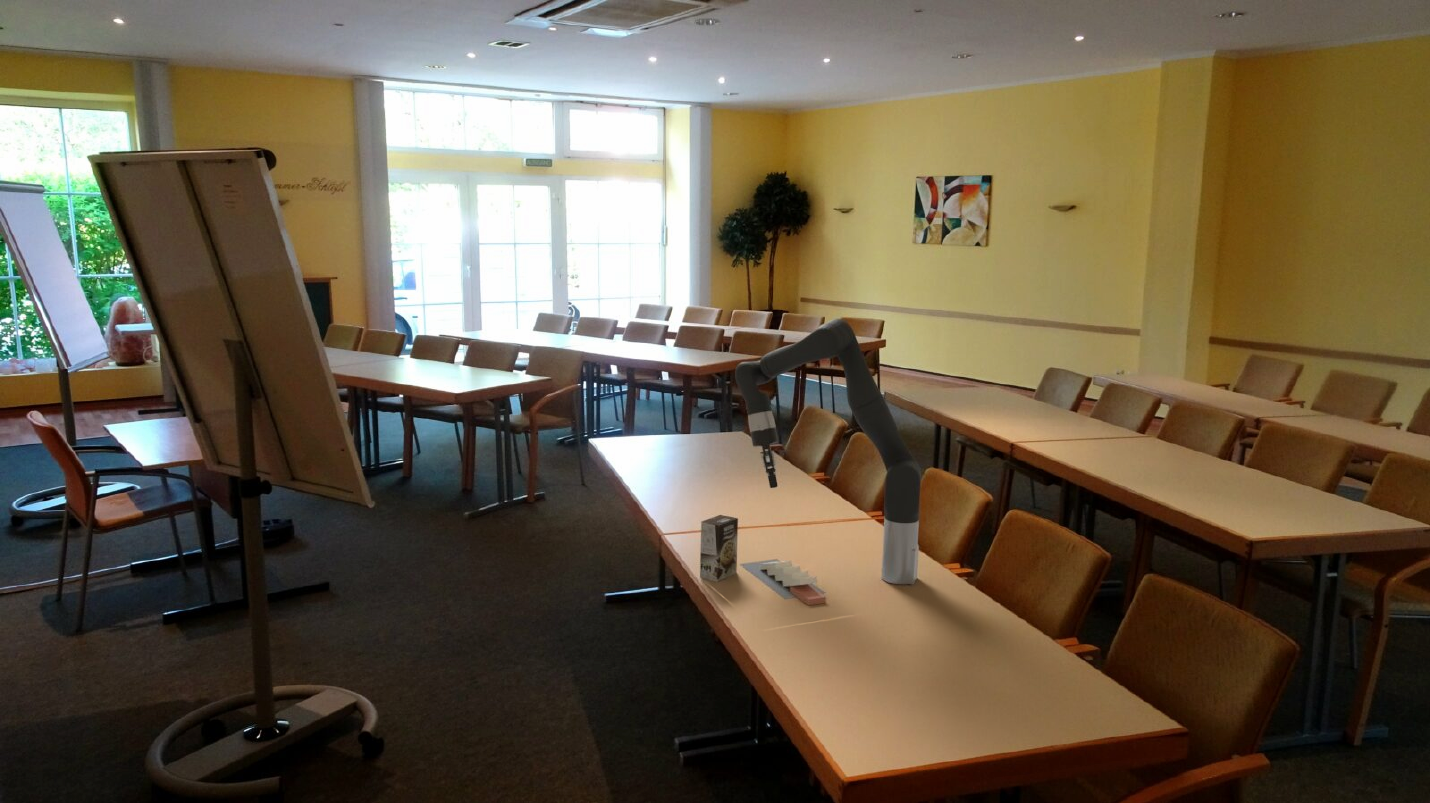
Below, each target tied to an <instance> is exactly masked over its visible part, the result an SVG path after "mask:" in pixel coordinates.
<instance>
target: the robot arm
mask: <svg viewBox="0 0 1430 803" xmlns="http://www.w3.org/2000/svg"><path fill="white" fill-rule="evenodd" d="M836 357H837V359H838V360H839V362H840V364H841V367H842V370H843V372H844V376H845V384H846V386H845V387H846V399H847V404H848V406H849V408H850V411H851V412H852V415H853V416H854V418H855V421H856V423H857V424H858V425H859V427H860V428H861V430H862V432H863V433H864V434H865V435H866V437H867V438H868V439H869V441H870V442H871V443H872V444H873V445H874V448H876V449H877V451H878V453H879V455H880V459H881V461H882V463H883V465H884V467H885V470H886V474H885V481H884V503H883V504H884V505H883V507H884V508H883V509H884V516H883V517H884V520H883V521H884V523H883V541H882V542H883V543H882V557H881V559H882V560H881V579H882V580H883V581H885V582H886V583H890V584H893V585H914V584H915V582H916V580H917V579H918V570H919V569H918V567H919V550H920V544H918V542H919V524H920V501H921V498H920V497H921V484H922V478H923V477H922V476H923V474H922V469H921V467H920V466H919V464H918V462H917V461H916V459H915V458H914V456H913V455H912V453H911V452H910V450H909V448H908V446H907V445H906V444H905V442H904V440H903V438H902V436H901V434H900V432H899V429H898V426H897V424H896V421H895V419H894V416H893V414H892V412H891V410H890V408H889V406H888V403H887V402H886V400H885V398H884V395H883V394H882V392H881V391H880V389H879V387H878V385H877V383H876V381H875V379H874V377H873V374H872V372H871V370H870V369H869V367H868V364H867V361H866V360H865V358H864V355H863V352H862V349H861V346H860V344H859V341H858V338H857V337H856V334H855V332H854V330H853V328H852V327H851V325H850V324H849V323H848V322H847V321H846V320H844V319H842V318H834V319H831V320H829V321H827V322H825V323H823V324H821V325H819V326H818V327H816V329H815V330H813V331H812V332H810V333H809V334H808V335H807V336H805V337H804V338H802V339H800V340H799V341H798V342H795V343H792V344H789V345H785V346H783V347H779V348H777V349H774V350H772V351H770V352H768V353H765V355H763V356H762V357H761V359H759V360H754V361H742V362H740V363H738V364H737V366H736V368H735V371H734V377H735V378H734V379H735V382H736V385H737V386H738V390H739V391H740V393H741V395H742V396H741V397H743V399H744V403H745V406H746V412H747V417H748V420H747V421H748V428H749V433H750V437H751V438H750V439H751V443H752V446H753V447H754V448H757V447H761V448H762V452H760V458H761V459H762V464H763V468H764V469H765V473H766V476H767V477H768V478H767V479H768V484H769V488H770V489H773V488H774V489H775V488H777V487H778V480H777V476H776V474H777V470H776V464H777V463H776V458H775V456H776V455H775V454H776V453H775V450H774V449H772V448H771V445H773V444H777V443H778V442H779V439H778V438H779V436H778V433H777V427H776V422H775V417H774V415H773V411H772V410H773V409H772V406H771V401H770V397H769V394H768V393H767V392H763V391H761V390H760V389H759V387H758V386H760V385H763V384H766V383H769V382H770V381H772V380H773V379H775V378H776V377H778V376H782V375H783V374H786V373H788V372H790V371H792V370H795V369H796V368H799V367H800V366H802V365H804V364H808V363H811V362H816V361H823V360H827V359H833V358H836Z"/></svg>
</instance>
